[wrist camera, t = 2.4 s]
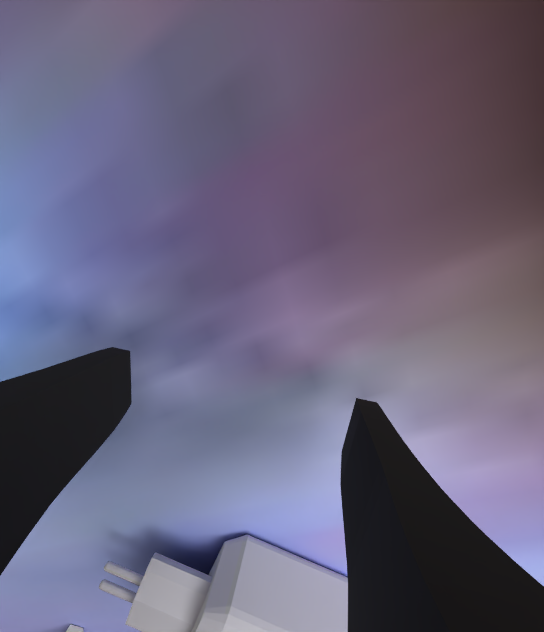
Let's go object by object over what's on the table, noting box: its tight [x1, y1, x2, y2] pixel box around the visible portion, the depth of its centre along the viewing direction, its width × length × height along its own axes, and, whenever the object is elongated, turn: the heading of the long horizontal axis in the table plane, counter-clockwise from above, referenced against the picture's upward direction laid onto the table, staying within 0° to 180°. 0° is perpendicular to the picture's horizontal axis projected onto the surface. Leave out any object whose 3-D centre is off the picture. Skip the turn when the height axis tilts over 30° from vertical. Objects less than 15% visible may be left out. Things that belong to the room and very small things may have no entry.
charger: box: [99, 535, 348, 632], centre depth 18 cm, size 5×9×15 cm
